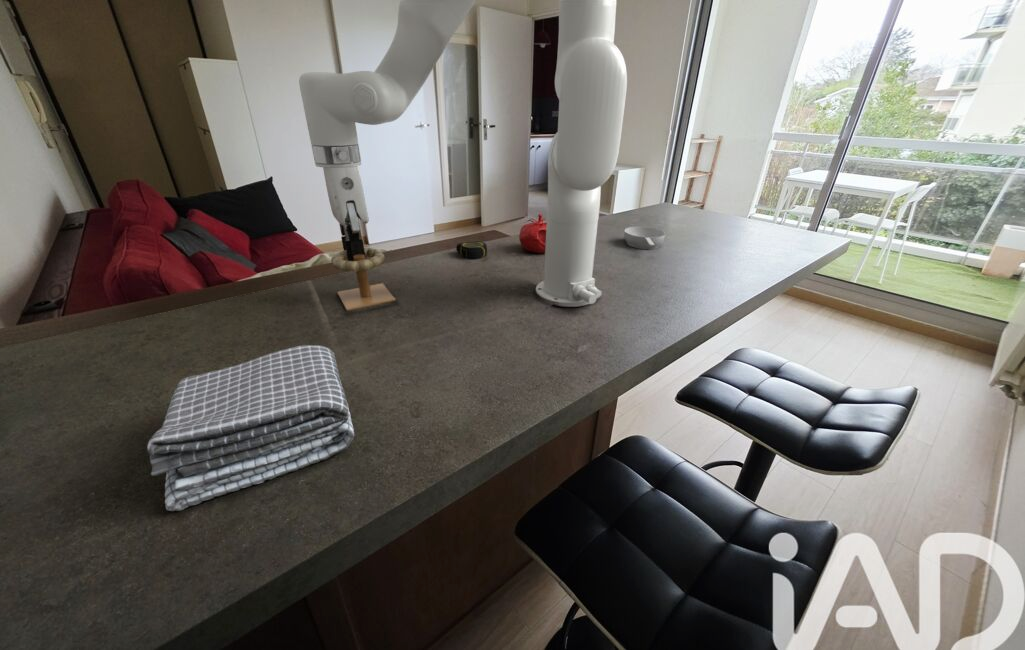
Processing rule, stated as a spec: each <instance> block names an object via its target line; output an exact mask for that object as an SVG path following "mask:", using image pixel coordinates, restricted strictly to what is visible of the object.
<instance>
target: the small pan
mask: <svg viewBox="0 0 1025 650" xmlns="http://www.w3.org/2000/svg"><path fill="white" fill-rule="evenodd" d="M623 235H624V237H623V238H624V240H625V242H626V245H627V246H630V247H632V248H636V249H642V250H653V249H657V248H659V247H660V245H661V244H662V243H663V242H664V240H665V237H666V232H665V231H664V230H662V229H660V228H656V227H650V226H629V227H626V228H625V229H624V234H623Z"/></svg>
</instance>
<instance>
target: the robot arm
mask: <svg viewBox="0 0 1025 650" xmlns="http://www.w3.org/2000/svg"><path fill="white" fill-rule="evenodd" d="M477 1H478V0H399V3H398V11H397V12H398V14H397V25H396V30H395V33H394V36H393V39H392V42H391V43H390V45H389V47H388V49H387V51H386V53H385V55H384V56H383V58H382V60H381V61H380V63H379V64H378V66H376V69H375V70H374V71H371V70H357V71H352V72H346V73H337V72H328V71H308V72H303V73H302V74H301V75H299V79H298V84H299V91H300V95H301V96H300V97H301V100H302V106H303V110H304V115H305V120H306V126H307V130H308V136H309V141H310V145H311V150H312V156H313V160H314V165H315V166H316V167H317V168H322V170H323V176H324V181H325V187H326V191H327V197H328V201H329V206H330V210H331V213H332V216H333V217H334V219H335V220H336V221H337V222H338V225H339V230H340V235H341V236H340V238H341V244H342V248H343V249H342V250H343V251H344V250H346V253H347V258H348V260H347V261H354V258H353V256H354V255H357V254H363V255H365V251H364V248H365V245H364V239H363V236H362V230H361V224H360V221H361V222H362V223H364V224H368V222H370V217H369V212H368V208H367V204H366V203H367V202H366V199H365V193H364V192H365V191H364V187H363V184H362V179H361V175H360V172H359V167H358V166H361V165H362V157H361V153H360V152H361V151H360V145H359V138H358V132H357V125H356V123H357V124H362V125H368V126H369V125H370V126H377V125H382V124H385V123H391V122H395V121H396V120H398V119H400V117H402V116H403V114H404V113H405V112H406V110H407V109H408V107H409V106H410V105H411V104H412V102H413V100H414V99H415V97H416V96H417V95H418V94H419V92H420V90H421V88H422V87H423V86H424V84H426V83H425V82H426V81H427V79H428V78H429V76H430V74H431V73H432V71H433V70H434V67H435V66H436V64H437V62H438V61H439V59H440V58H441V57H442V55H443V54H444V51H445V49H446V48H447V45H448V44H449V42H450V41H451V39H452V37H453V36H454V35H455V33H456V31H457V30H458V29H459V28H460V25H462V22H464V20H465V19H466V17H467V15H468V14H469V12H470V11H471V10H472V8H473V7H474V5H476V2H477ZM617 2H618V1H617V0H558V39H557V40H558V41H557V42H558V43H557V57H556V58H557V59H556V68H555V75H554V89H555V90H554V91H555V93H556V96H557V97H556V98H558V101H559V102H558V119H557V131H556V133H554V136H553V138H552V140H551V142H550V145H549V148H548V156H547V211H546V213H547V214H546V222H547V225H546V246H545V253H544V268H543V269H544V270H543V272H544V273H543V280H542V281H540V282H538V284H537V285H536V287H535V292H536V294H537V295H538V296H539V297H541V298H542V299H544V300H545V301H548V302H551V303H552V302H553V303H554V304H553V306H558V307H565V308H573V307H574V308H576V307H584V306H588V305H593V304H595V303H596V301H597V300H598V299H599V298H601V297H602V294H603V292H602V290H600V289H598V287H596V286H595V285H596V278H594V277H593V273H594V271H593V270H594V262H595V252H596V244H597V234H598V223H599V217H600V207H601V192H602V191H601V190H602V186H603V185H604V184H606V182H607V181H608V180H609V179H610V177H611V176H612V174H613V173H614V171H615V168H616V165H617V162H618V159H619V153H620V147H621V140H622V139H621V138H622V131H623V125H624V115H625V107H626V98H627V89H628V72H627V65H626V61H625V57H624V56H623V54H622V52H621V50H620V49H619V48H618V47H617V45H616V44H615V43H614V42H615V31H616V17H617V16H616V15H617ZM365 259H367V257H365Z"/></svg>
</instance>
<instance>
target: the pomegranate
mask: <svg viewBox="0 0 1025 650" xmlns="http://www.w3.org/2000/svg"><path fill="white" fill-rule="evenodd" d="M537 216H538V220H537V219H534V218H532V219H528V220H526V221H525V223H526V224H524V225H522V226H521V228H520V231H519V235H518V239H519V243H520V245H521V247H522V248H523V249H524V250H526V251H527V252H530V253H535V254H545V246H546V225H547V218H543V214H542V213H539V214H538V215H537ZM544 221H545V222H544ZM527 222H529V223H527Z"/></svg>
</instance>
